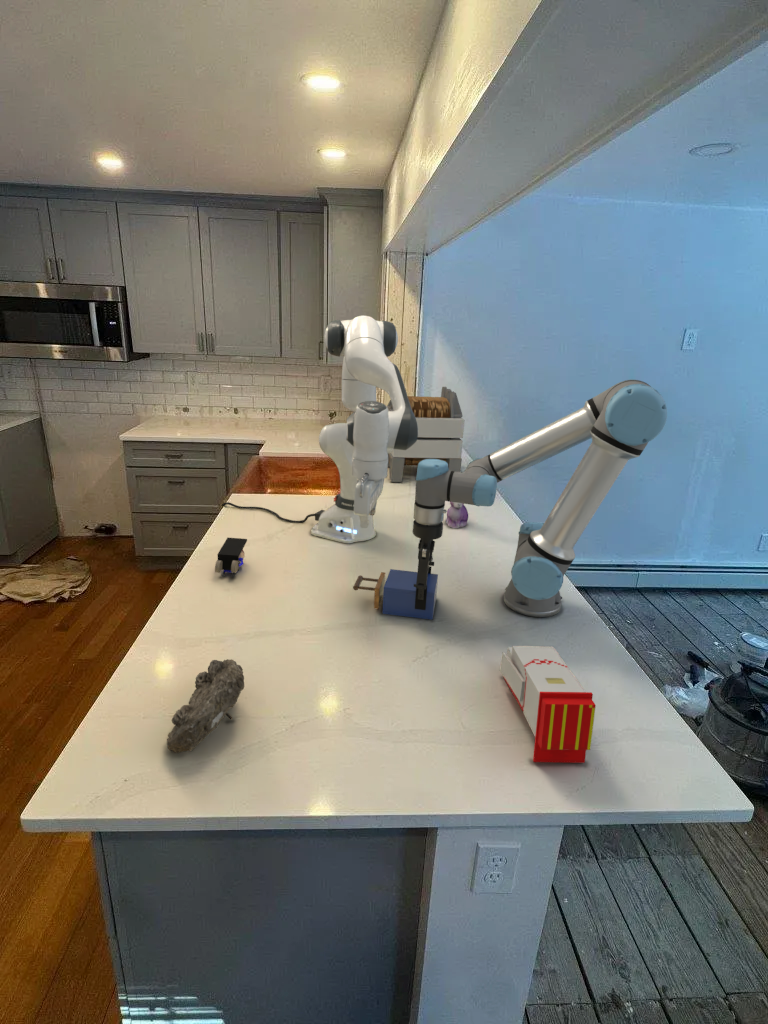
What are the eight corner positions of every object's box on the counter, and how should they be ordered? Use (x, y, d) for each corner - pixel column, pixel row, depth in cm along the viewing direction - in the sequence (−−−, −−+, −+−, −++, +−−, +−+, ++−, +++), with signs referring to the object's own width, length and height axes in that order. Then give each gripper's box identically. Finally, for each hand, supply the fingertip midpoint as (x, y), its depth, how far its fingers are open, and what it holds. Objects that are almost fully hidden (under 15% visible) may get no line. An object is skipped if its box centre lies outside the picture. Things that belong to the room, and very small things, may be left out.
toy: (549, 628, 125) (605, 700, 96) (544, 683, 128) (596, 770, 99) (495, 627, 125) (534, 699, 95) (491, 683, 128) (527, 769, 98)
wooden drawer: (351, 605, 149) (351, 585, 147) (358, 588, 158) (359, 569, 156) (419, 614, 146) (420, 593, 144) (423, 596, 155) (424, 576, 153)
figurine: (453, 530, 205) (457, 490, 200) (438, 521, 213) (441, 482, 208) (475, 527, 209) (479, 488, 204) (459, 517, 217) (462, 480, 212)
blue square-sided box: (382, 613, 147) (383, 587, 145) (389, 594, 158) (390, 569, 155) (432, 619, 145) (434, 593, 143) (436, 599, 156) (438, 574, 153)
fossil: (192, 660, 117) (244, 628, 112) (224, 691, 120) (276, 661, 115) (142, 746, 98) (202, 712, 93) (182, 779, 101) (242, 748, 96)
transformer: (382, 463, 289) (386, 382, 275) (445, 464, 293) (451, 384, 279) (390, 482, 257) (394, 392, 243) (460, 483, 261) (468, 394, 247)
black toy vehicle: (238, 584, 162) (249, 557, 175) (236, 562, 158) (247, 536, 172) (215, 584, 161) (227, 556, 175) (212, 561, 158) (225, 535, 171)
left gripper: (374, 481, 131) (372, 536, 135) (388, 459, 150) (386, 509, 154) (348, 478, 132) (346, 534, 136) (365, 457, 151) (363, 507, 155)
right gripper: (439, 539, 131) (432, 622, 139) (446, 507, 153) (440, 580, 160) (407, 536, 132) (402, 618, 140) (418, 504, 154) (413, 577, 161)
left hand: (368, 520), depth 145 cm, fingers open, 8 cm apart
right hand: (422, 598), depth 150 cm, fingers closed on blue square-sided box, 11 cm apart
